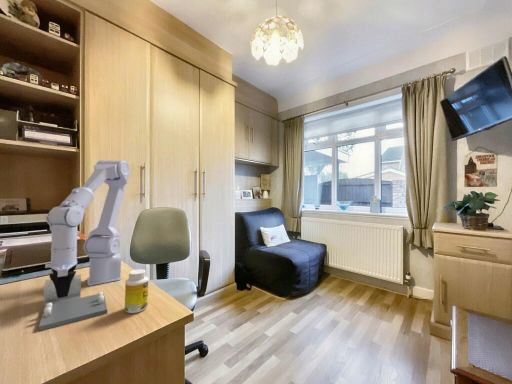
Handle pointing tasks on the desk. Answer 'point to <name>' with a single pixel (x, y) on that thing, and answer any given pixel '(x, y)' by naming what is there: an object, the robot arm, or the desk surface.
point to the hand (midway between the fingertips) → (63, 293)
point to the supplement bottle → (136, 291)
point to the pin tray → (72, 310)
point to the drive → (52, 297)
